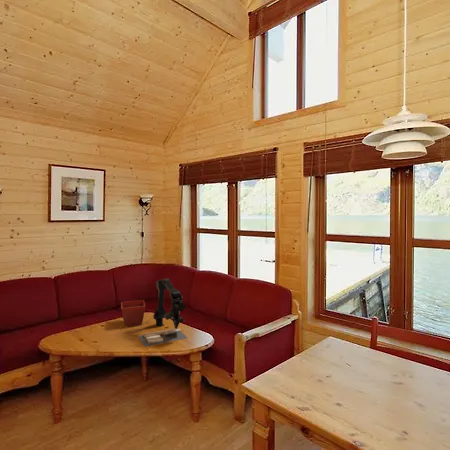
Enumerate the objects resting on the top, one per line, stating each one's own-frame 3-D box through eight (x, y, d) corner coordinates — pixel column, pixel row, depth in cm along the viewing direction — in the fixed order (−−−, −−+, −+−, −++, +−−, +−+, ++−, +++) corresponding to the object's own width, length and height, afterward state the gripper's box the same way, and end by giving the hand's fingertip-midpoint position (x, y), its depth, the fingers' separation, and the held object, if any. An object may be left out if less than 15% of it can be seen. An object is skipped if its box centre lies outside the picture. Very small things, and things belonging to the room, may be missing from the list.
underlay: (137, 336, 246) (137, 336, 246) (178, 328, 261) (178, 328, 261) (144, 347, 226) (144, 346, 226) (187, 338, 241) (187, 337, 241)
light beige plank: (146, 339, 240) (145, 337, 240) (159, 336, 244) (159, 334, 244) (149, 343, 231) (149, 341, 231) (163, 341, 235) (163, 339, 235)
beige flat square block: (164, 335, 246) (164, 333, 247) (176, 333, 251) (176, 331, 251) (167, 332, 238) (167, 330, 239) (180, 330, 243) (180, 328, 243)
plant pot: (121, 320, 281) (121, 301, 280) (144, 318, 287) (143, 299, 286) (121, 328, 263) (121, 308, 262) (145, 325, 269) (145, 305, 268)
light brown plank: (143, 336, 246) (143, 334, 246) (174, 330, 257) (174, 328, 257) (145, 338, 240) (144, 336, 240) (177, 332, 252) (177, 330, 252)
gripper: (161, 306, 247) (161, 326, 247) (168, 313, 230) (169, 334, 231) (175, 304, 252) (175, 323, 253) (183, 310, 235) (184, 331, 236)
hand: (176, 328), depth 243 cm, fingers closed
